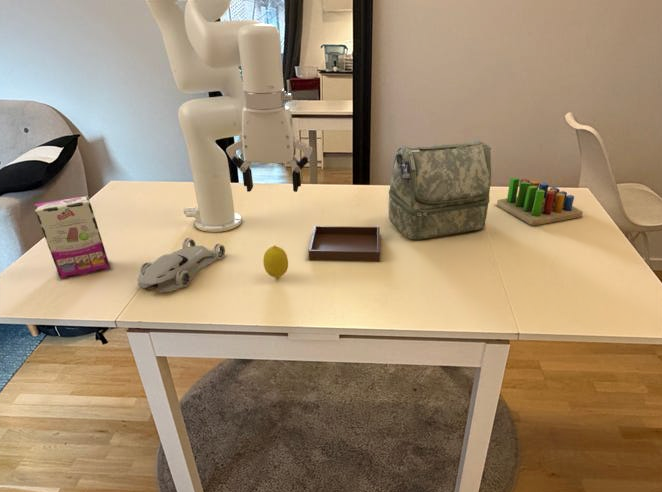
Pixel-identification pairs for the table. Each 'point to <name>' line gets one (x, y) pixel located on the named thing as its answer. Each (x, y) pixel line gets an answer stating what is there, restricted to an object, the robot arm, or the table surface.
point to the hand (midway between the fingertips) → (273, 189)
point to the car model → (178, 267)
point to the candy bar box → (72, 236)
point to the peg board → (538, 203)
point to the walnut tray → (345, 243)
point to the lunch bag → (440, 189)
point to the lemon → (275, 261)
